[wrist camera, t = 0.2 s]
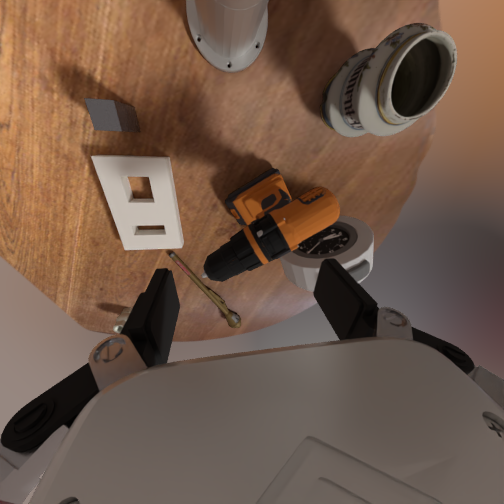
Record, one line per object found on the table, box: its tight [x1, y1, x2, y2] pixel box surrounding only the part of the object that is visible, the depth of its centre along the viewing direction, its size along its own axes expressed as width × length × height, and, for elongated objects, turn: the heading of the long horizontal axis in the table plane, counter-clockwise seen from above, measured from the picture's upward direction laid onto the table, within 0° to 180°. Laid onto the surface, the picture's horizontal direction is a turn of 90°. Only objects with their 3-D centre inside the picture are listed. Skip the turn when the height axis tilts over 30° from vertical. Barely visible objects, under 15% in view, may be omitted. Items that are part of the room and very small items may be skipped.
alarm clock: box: [280, 216, 374, 292], centre depth 45 cm, size 21×8×20 cm, turn 109°
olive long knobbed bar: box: [169, 252, 241, 328], centre depth 58 cm, size 5×35×5 cm
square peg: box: [84, 98, 140, 132], centre depth 31 cm, size 4×4×8 cm
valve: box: [113, 307, 132, 333], centre depth 58 cm, size 7×7×12 cm
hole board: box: [91, 155, 184, 250], centre depth 42 cm, size 20×13×3 cm, turn 178°
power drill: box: [201, 168, 340, 282], centre depth 35 cm, size 22×7×25 cm, turn 119°
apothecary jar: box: [320, 23, 457, 137], centre depth 31 cm, size 12×12×18 cm
